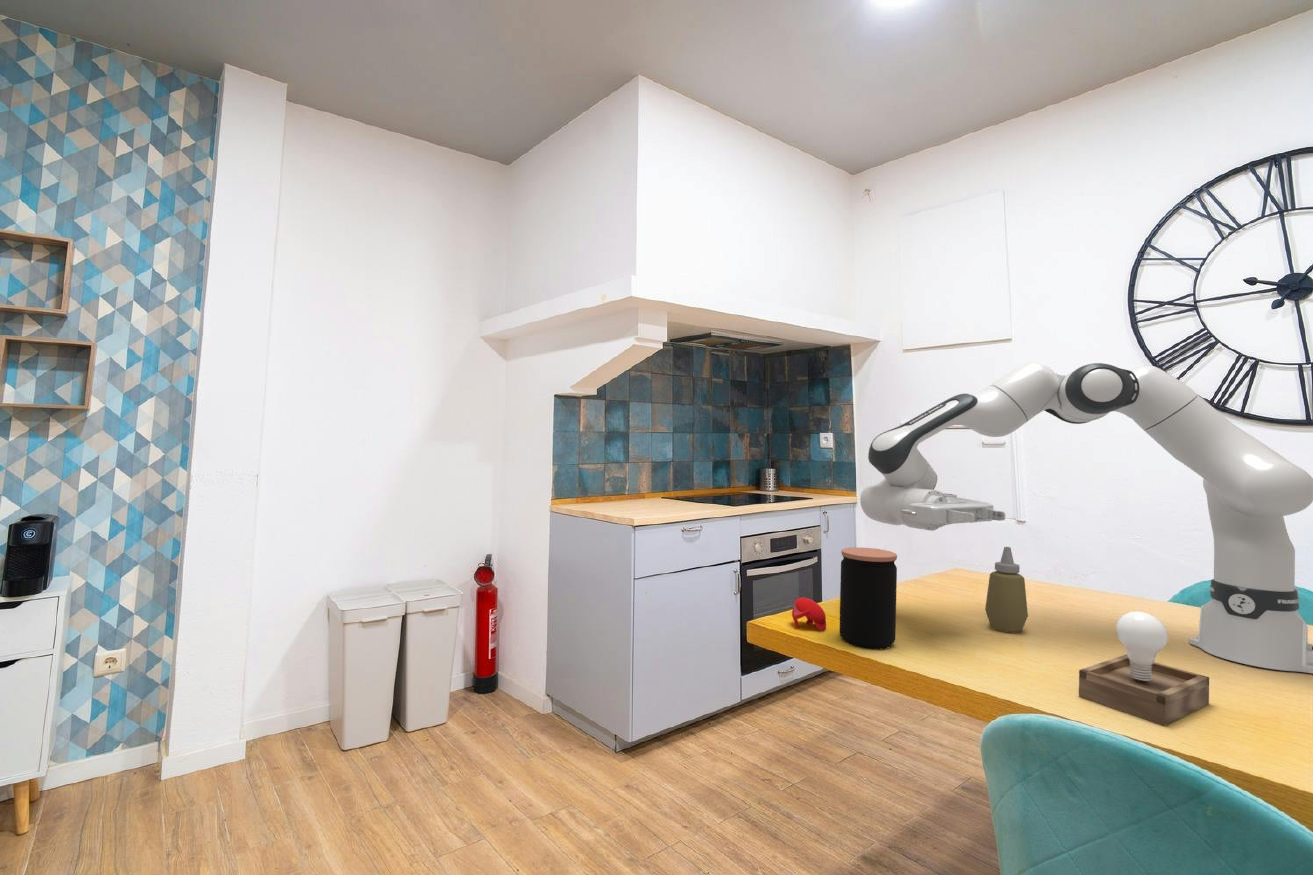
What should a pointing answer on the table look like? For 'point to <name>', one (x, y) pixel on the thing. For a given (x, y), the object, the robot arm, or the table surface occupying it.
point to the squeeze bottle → (1006, 596)
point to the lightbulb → (1141, 641)
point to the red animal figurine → (809, 613)
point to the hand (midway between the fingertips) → (989, 517)
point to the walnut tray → (1145, 690)
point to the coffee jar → (868, 597)
